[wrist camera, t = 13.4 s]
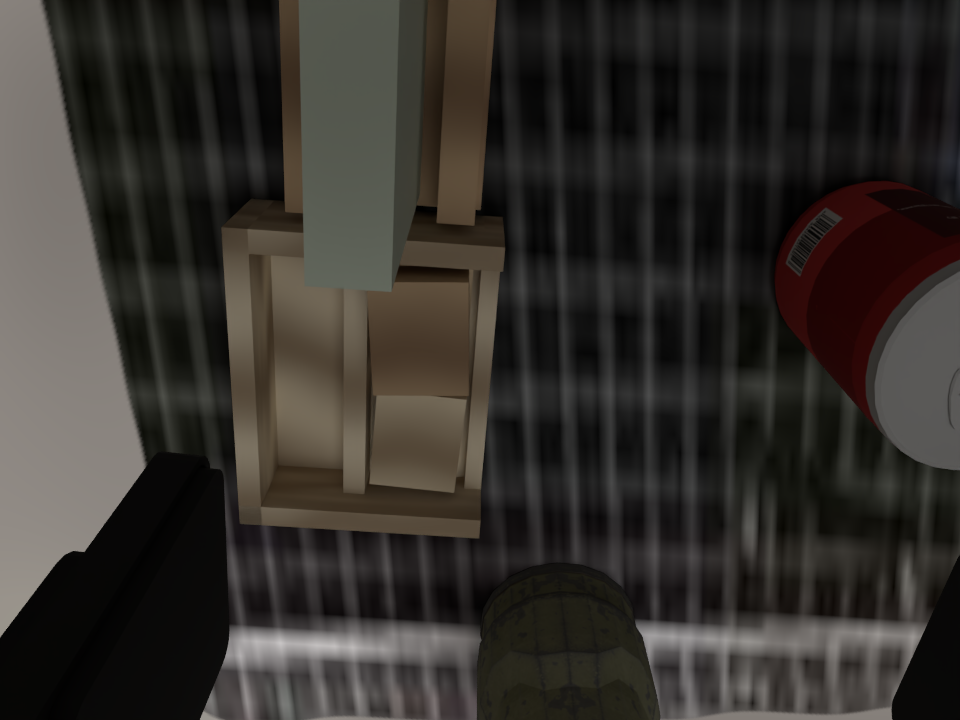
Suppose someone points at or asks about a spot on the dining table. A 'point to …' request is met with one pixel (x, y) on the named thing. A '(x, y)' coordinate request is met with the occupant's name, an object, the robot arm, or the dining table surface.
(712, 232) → the dining table surface
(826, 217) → the canned food
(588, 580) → the thermos
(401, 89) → the grey-green flat slab
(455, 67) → the stand
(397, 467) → the offcut
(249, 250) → the rack
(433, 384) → the offcut
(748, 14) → the dining table surface
